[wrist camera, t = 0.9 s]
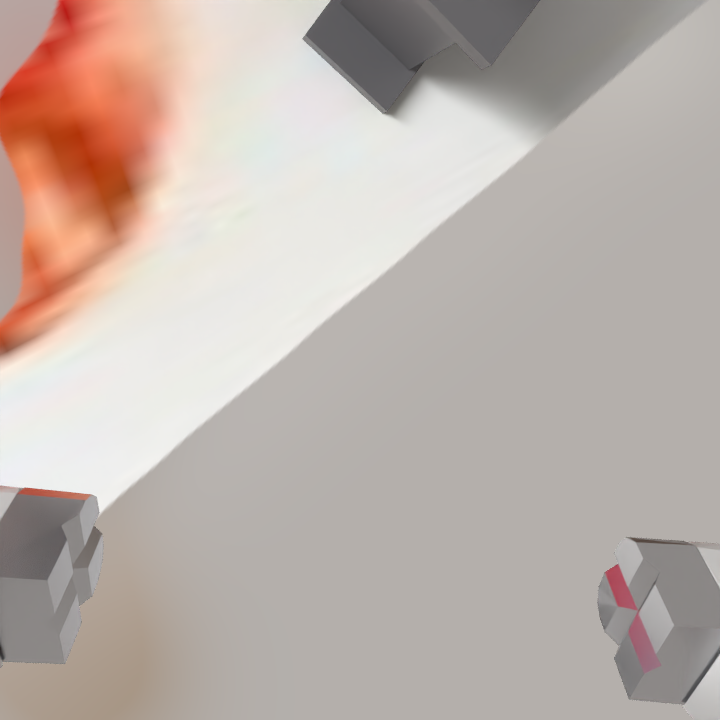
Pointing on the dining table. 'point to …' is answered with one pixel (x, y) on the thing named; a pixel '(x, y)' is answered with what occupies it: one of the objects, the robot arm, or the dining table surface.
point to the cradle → (409, 38)
